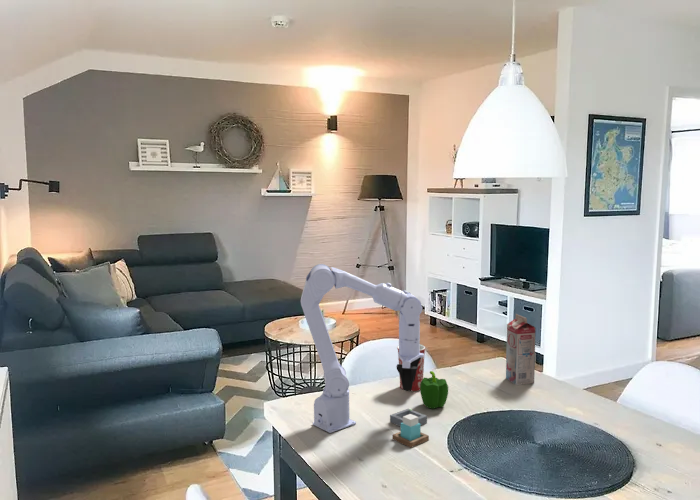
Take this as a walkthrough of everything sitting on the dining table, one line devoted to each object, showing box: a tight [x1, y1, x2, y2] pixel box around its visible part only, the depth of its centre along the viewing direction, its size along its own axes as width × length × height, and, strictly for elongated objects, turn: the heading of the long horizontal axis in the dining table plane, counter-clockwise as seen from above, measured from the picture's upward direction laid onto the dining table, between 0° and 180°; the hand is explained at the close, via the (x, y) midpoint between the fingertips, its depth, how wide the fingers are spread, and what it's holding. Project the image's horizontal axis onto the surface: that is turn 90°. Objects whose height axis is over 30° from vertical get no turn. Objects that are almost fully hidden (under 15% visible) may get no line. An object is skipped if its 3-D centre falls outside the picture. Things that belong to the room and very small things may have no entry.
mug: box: [396, 344, 426, 392], centre depth 188 cm, size 13×9×14 cm
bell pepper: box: [419, 370, 449, 409], centre depth 175 cm, size 8×8×10 cm
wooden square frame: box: [391, 431, 430, 448], centre depth 152 cm, size 7×7×1 cm
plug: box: [400, 414, 422, 441], centre depth 152 cm, size 4×4×6 cm
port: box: [389, 408, 428, 428], centre depth 163 cm, size 7×7×2 cm
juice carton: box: [505, 313, 536, 386], centre depth 195 cm, size 7×7×22 cm
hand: (409, 385), depth 164 cm, fingers open, 7 cm apart
